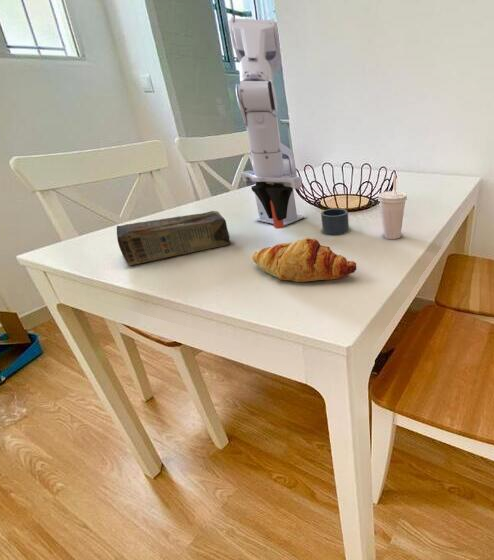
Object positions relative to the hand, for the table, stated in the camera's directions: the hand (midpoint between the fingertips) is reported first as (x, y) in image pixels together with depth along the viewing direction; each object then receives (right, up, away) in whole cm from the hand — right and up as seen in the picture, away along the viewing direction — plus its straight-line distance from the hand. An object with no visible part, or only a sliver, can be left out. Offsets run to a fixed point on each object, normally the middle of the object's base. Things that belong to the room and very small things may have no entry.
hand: (277, 218), depth 73 cm
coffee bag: (-20, -7, -1) cm, 21 cm away
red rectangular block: (0, -2, +1) cm, 2 cm away
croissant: (+8, -12, -10) cm, 18 cm away
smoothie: (+25, -3, +6) cm, 26 cm away
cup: (+11, -1, +10) cm, 15 cm away
